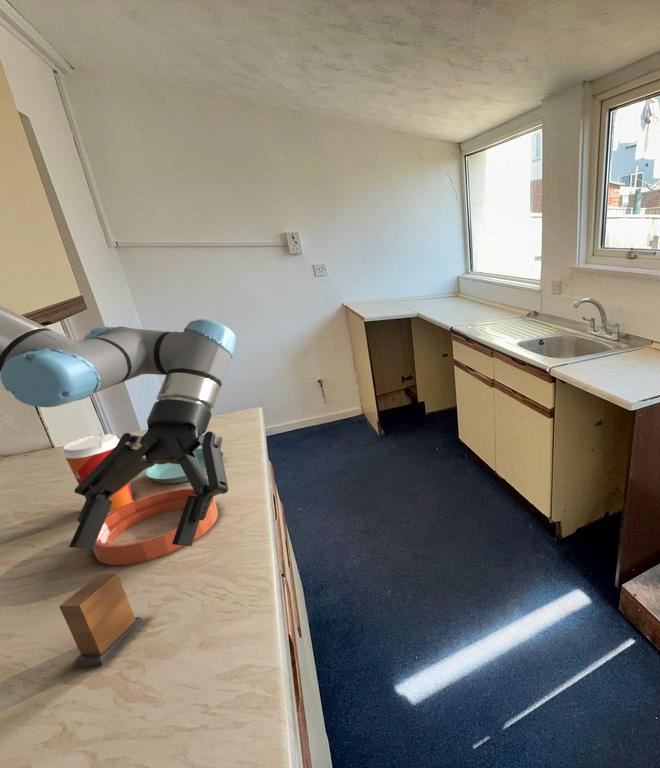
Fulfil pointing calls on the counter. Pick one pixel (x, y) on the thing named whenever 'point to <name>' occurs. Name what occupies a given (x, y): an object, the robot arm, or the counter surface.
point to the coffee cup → (95, 462)
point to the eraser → (100, 619)
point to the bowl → (137, 513)
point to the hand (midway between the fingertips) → (131, 546)
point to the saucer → (173, 470)
